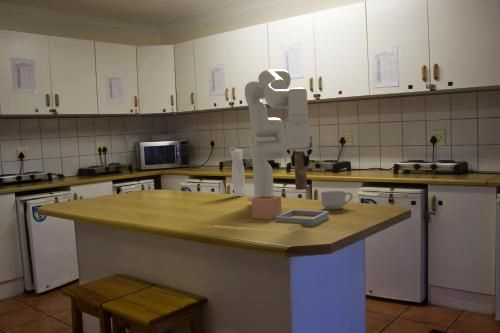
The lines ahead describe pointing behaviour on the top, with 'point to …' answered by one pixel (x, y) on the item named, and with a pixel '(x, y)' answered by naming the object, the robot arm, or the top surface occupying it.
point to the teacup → (334, 199)
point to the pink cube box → (266, 207)
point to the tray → (306, 221)
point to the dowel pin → (300, 171)
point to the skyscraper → (238, 172)
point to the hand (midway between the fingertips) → (300, 165)
